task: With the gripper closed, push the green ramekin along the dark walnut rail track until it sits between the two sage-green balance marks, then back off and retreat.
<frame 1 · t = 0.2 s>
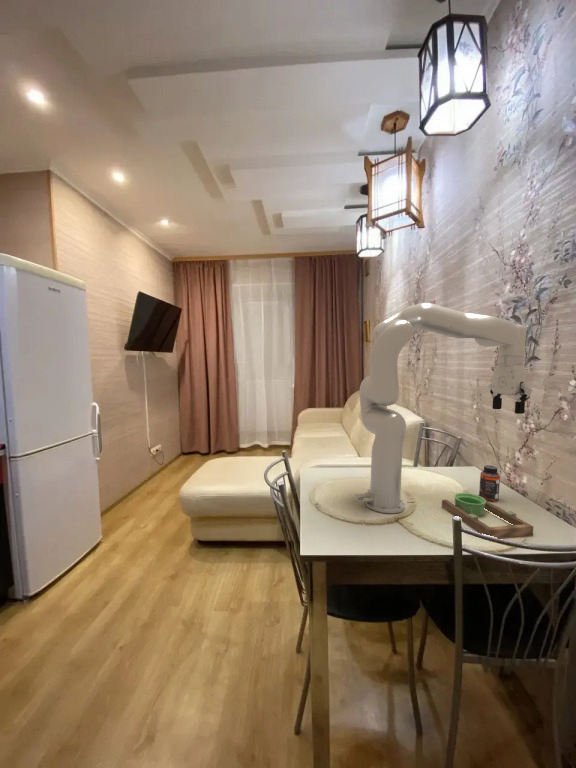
hand: (507, 411, 122), 31 cm above the table, fingers open, 9 cm apart
ramekin: (469, 512, 113), on the table
walnut track: (481, 518, 107), on the table
supplement bottle: (488, 499, 123), on the table
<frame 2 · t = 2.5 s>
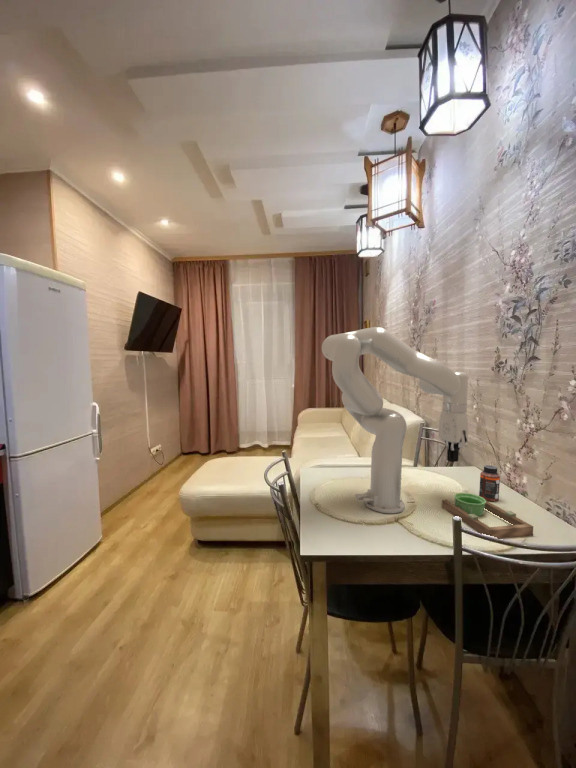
hand: (452, 460, 121), 13 cm above the table, fingers closed
nothing on the table moved.
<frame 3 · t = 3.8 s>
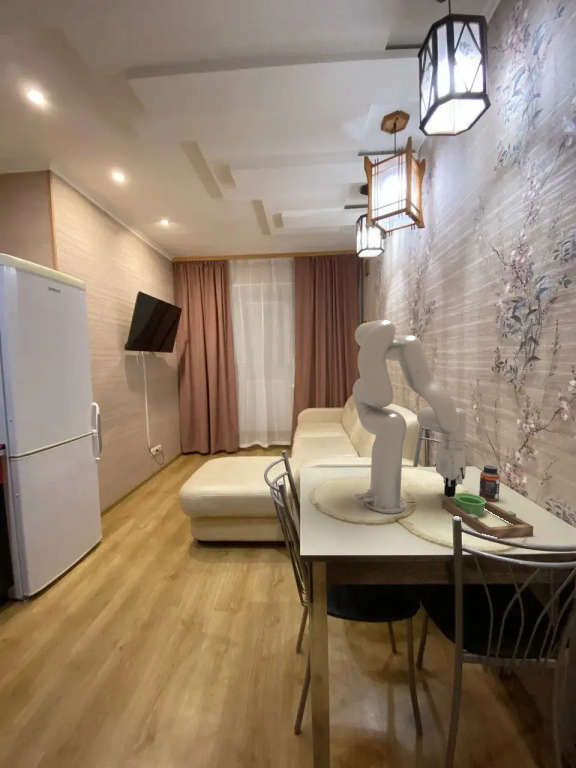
hand: (449, 496, 122), 1 cm above the table, fingers closed
nothing on the table moved.
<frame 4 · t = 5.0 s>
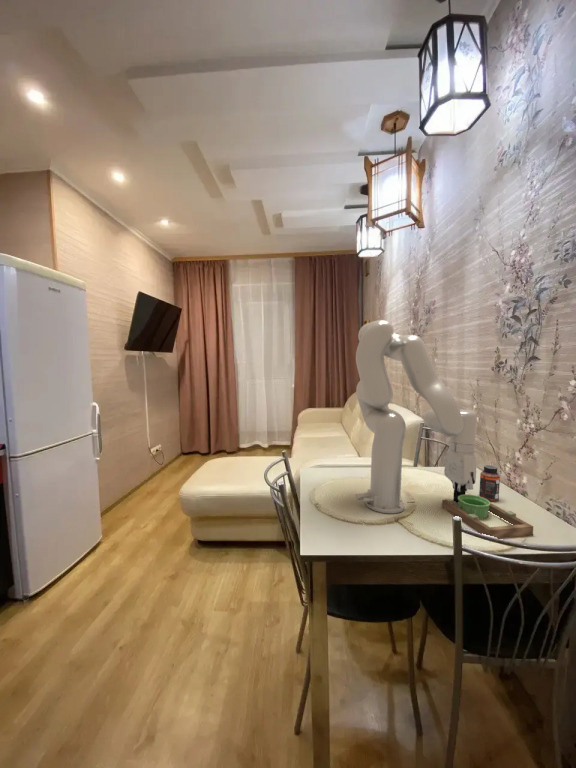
hand: (459, 501, 117), 1 cm above the table, fingers closed
ramekin: (472, 514, 111), on the table, touching gripper
everything else where it was.
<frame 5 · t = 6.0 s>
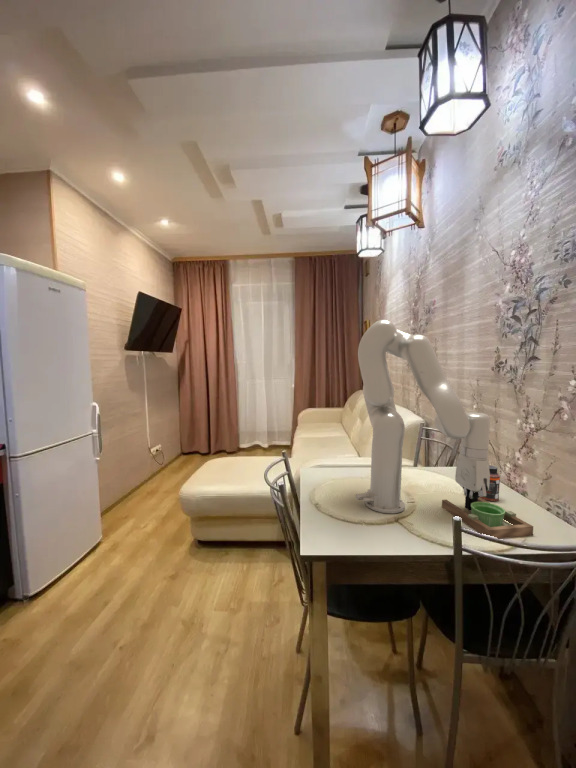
hand: (470, 509, 112), 1 cm above the table, fingers closed
ramekin: (486, 522, 105), on the table, touching gripper
everything else where it was.
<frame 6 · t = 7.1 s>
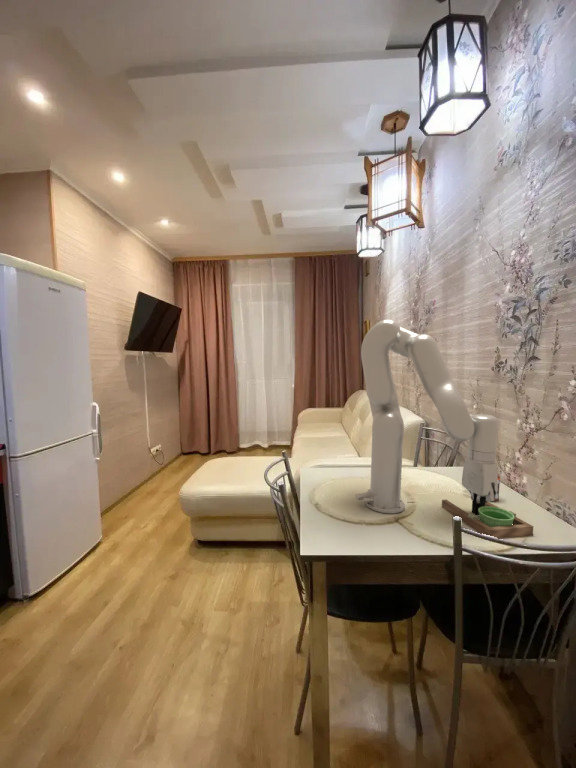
hand: (477, 513, 109), 1 cm above the table, fingers closed
ramekin: (494, 527, 102), on the table, touching gripper
everything else where it was.
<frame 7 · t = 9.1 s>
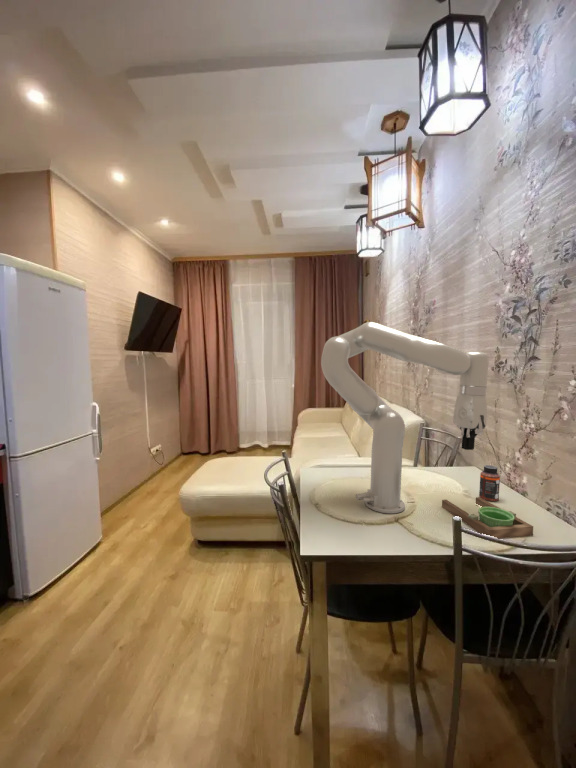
hand: (467, 448, 112), 20 cm above the table, fingers closed
ramekin: (494, 528, 102), on the table
everything else where it was.
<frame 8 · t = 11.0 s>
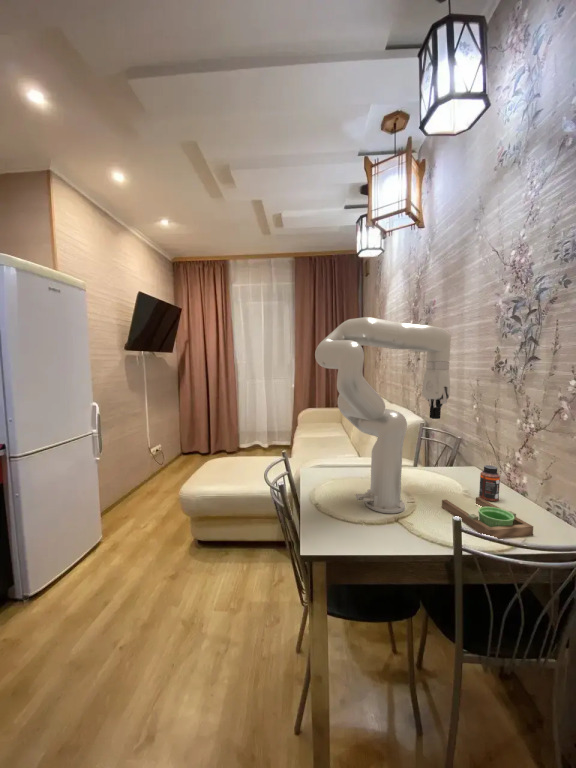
hand: (434, 418, 126), 27 cm above the table, fingers closed
nothing on the table moved.
at the end: ramekin inside the target area (0.8 cm from its centre), on the table; ramekin moved 10.8 cm from its start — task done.
